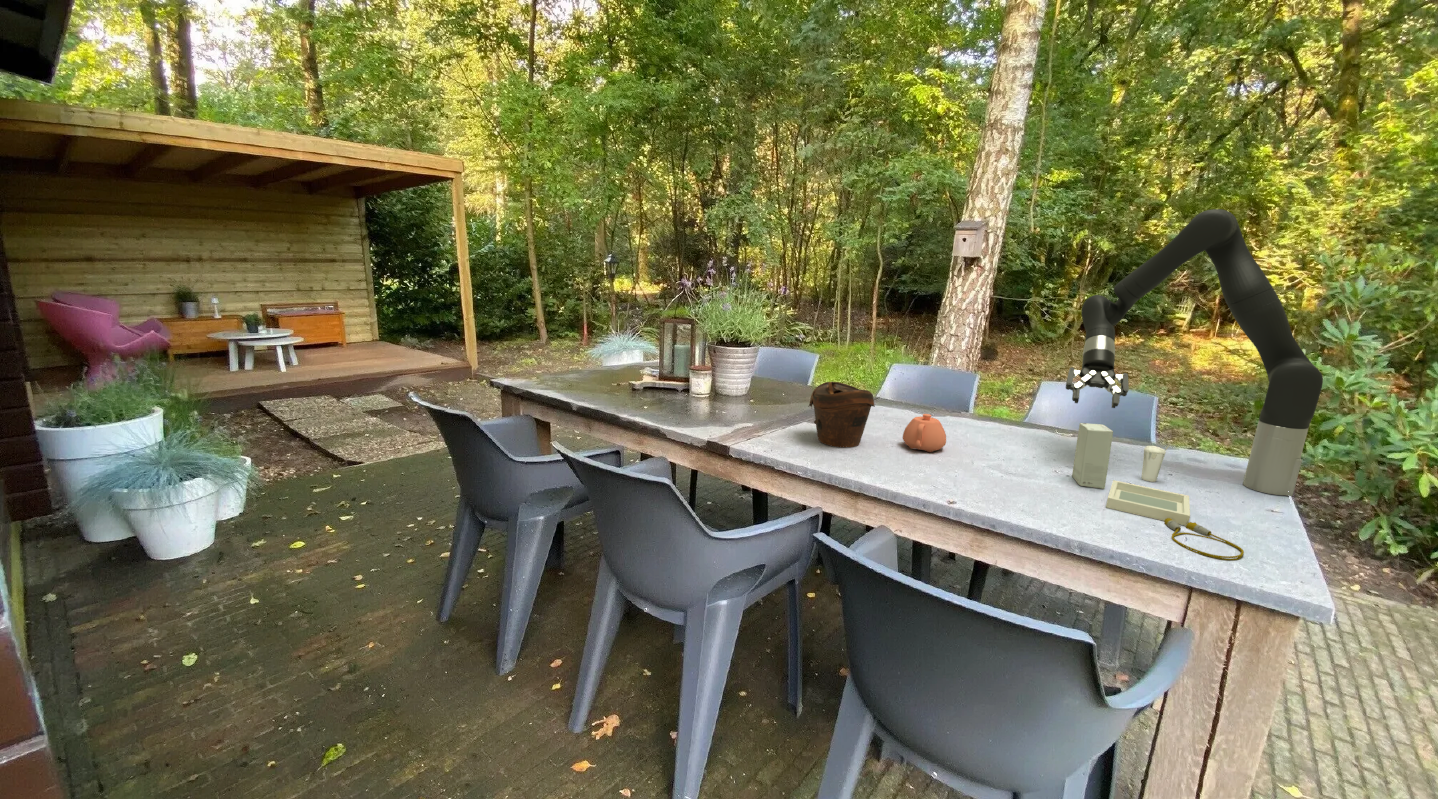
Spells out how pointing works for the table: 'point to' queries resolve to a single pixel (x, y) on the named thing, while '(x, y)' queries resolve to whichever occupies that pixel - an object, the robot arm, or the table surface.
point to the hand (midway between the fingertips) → (1095, 404)
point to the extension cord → (1201, 530)
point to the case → (840, 413)
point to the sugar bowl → (925, 434)
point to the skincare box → (1092, 455)
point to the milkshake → (1152, 462)
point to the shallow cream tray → (1149, 502)
